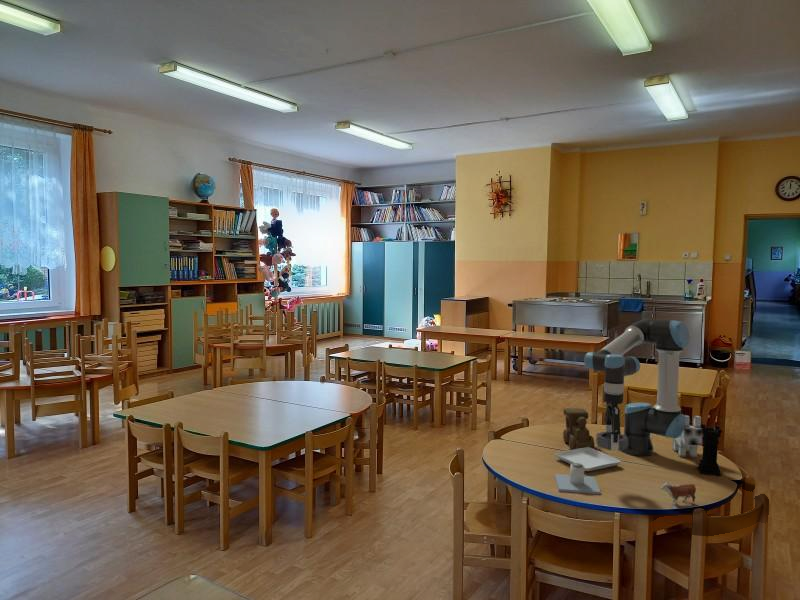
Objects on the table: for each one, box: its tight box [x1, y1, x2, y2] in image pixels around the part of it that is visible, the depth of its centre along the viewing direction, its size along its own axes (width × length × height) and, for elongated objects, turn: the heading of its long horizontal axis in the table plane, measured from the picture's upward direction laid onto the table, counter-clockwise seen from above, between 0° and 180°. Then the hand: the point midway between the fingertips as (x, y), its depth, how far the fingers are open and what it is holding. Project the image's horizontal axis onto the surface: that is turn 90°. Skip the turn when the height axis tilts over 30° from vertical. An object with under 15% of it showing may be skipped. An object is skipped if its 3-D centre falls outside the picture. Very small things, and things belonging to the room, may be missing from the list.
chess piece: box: [696, 423, 723, 477], centre depth 251 cm, size 8×8×20 cm
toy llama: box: [672, 414, 703, 459], centre depth 273 cm, size 8×18×20 cm, turn 172°
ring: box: [595, 431, 628, 452], centre depth 236 cm, size 12×12×4 cm
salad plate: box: [554, 447, 622, 472], centre depth 261 cm, size 21×21×3 cm
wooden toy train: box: [562, 407, 595, 450], centre depth 284 cm, size 20×11×17 cm, turn 179°
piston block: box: [554, 463, 602, 495], centre depth 236 cm, size 16×16×8 cm
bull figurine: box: [660, 481, 697, 506], centre depth 219 cm, size 4×13×8 cm, turn 95°
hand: (611, 445), depth 236 cm, fingers closed on ring, 11 cm apart
